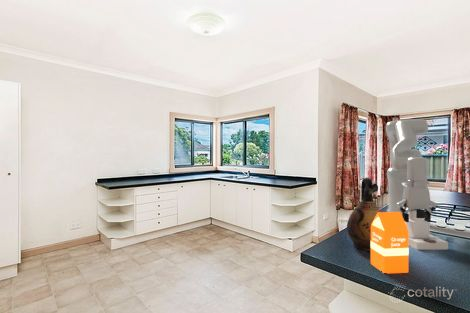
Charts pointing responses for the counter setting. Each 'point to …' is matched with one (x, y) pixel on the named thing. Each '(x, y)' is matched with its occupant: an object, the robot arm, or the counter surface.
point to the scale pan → (421, 238)
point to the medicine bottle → (418, 224)
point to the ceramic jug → (363, 217)
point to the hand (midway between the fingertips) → (416, 221)
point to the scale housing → (428, 243)
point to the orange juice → (389, 243)
